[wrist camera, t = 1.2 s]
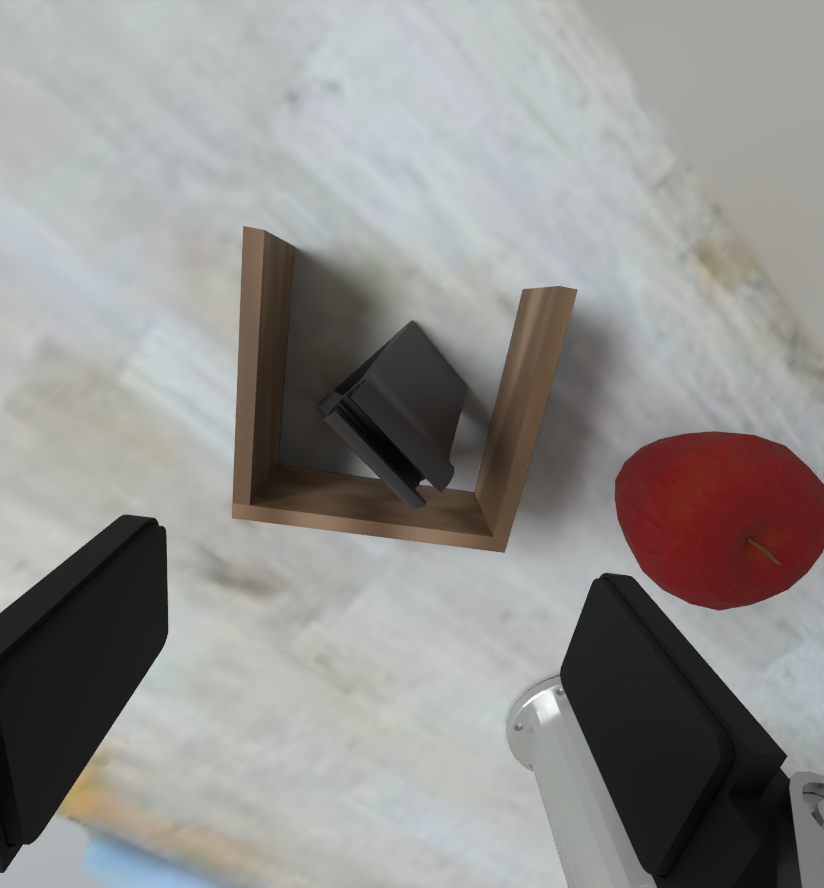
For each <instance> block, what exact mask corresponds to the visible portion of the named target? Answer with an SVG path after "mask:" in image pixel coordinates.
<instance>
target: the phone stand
mask: <svg viewBox="0 0 824 888" xmlns="http://www.w3.org/2000/svg"><path fill="white" fill-rule="evenodd" d="M466 390H467V386H466V385H465V383H464V382H463V381H462V380H461V379H460V377H459V376H458V375H457V374H456V373H455V371H454V370H453V369H452V368H451V367H450V365H449V364H448V363H447V362H446V361H445V359H444V358H443V357H442V356H441V354H440V353H439V352H438V351H437V350H436V348H435V347H434V346H433V345H432V344H431V342H430V341H429V340H428V339H427V338H426V336H425V335H424V334H423V333H422V332H421V330H420V329H419V328H418V327H417V326H416V324H415V323H414V322H413V321H410V322H409V323H408V324H407V325H406V326H405V327H404V328H402V329H401V330H400V331H399V332H398V333H397V334H396V335H395V336H394V337H393V338H391V339H390V340H389V341H388V342H387V343H386V344H385V345H384V346H383V347H381V348H380V349H379V350H378V351H377V352H376V353H375V354H374V355H373V356H371V357H370V358H369V359H368V360H367V361H366V362H365V363H364V364H363V365H362V366H360V367H359V368H358V369H357V370H356V371H355V372H354V373H353V374H351V375H350V376H349V377H348V378H347V379H346V380H345V381H344V382H343V383H341V384H340V385H339V386H338V387H337V388H336V389H335V390H334V391H333V392H332V393H330V394H329V395H328V396H327V397H326V398H325V399H324V400H323V401H322V402H320V403H319V404H318V405H317V406H316V408H317V409H318V410H319V411H320V412H321V413H322V414H323V415H324V418H323V421H324V422H325V423H326V424H327V425H328V426H329V427H330V428H331V429H332V430H333V431H334V432H335V433H336V434H337V435H338V436H339V437H340V438H341V439H342V440H343V441H344V442H345V443H346V444H347V445H348V446H349V447H350V448H351V449H352V450H353V451H354V452H355V453H356V454H357V455H358V456H359V457H360V458H361V459H362V460H363V461H364V462H365V463H366V464H367V465H368V466H369V467H370V468H371V469H372V470H373V471H374V473H375V474H376V475H377V476H378V477H379V478H380V479H381V480H382V481H383V482H384V483H385V484H386V485H387V486H388V487H389V488H390V489H391V490H392V491H393V492H394V493H395V494H396V495H397V496H398V497H399V498H400V499H401V500H402V501H403V502H404V503H405V504H406V505H407V506H408V507H409V508H410V509H418V508H421V507H423V506H425V505H426V500H425V499H424V498H423V497H422V496H421V495H420V494H419V493H418V492H417V491H416V488H417V487H418V486H419V483H420V481H422V480H424V479H425V478H426V479H427V480H428V481H429V482H430V483H431V484H432V485H433V486H434V487H435V488H436V489H437V490H438V491H439V492H440V493H441V492H442V491H443V490H444V489H445V488H446V487H447V485H448V484H449V482H450V481H451V479H452V477H453V474H454V466H453V465H452V464H451V463H450V460H449V454H450V450H451V446H452V443H453V439H454V435H455V431H456V428H457V424H458V420H459V417H460V413H461V409H462V405H463V402H464V398H465V394H466Z"/></svg>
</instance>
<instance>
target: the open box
mask: <svg viewBox="0 0 824 888" xmlns="http://www.w3.org/2000/svg"><path fill="white" fill-rule="evenodd" d="M293 260H294V246H293V245H291V244H289V243H287V242H285V241H283V240H282V239H280V238H278V237H276V236H274V235H273V234H271V233H269V232H267V231H265V230H261V229H256V228H251V227H245V226H243V250H242V275H241V301H240V326H239V352H238V377H237V403H236V428H235V454H234V479H233V504H232V518H235V519H243V520H251V521H259V522H267V523H275V524H283V525H291V526H299V527H306V528H314V529H322V530H330V531H338V532H346V533H354V534H362V535H369V536H377V537H385V538H393V539H401V540H409V541H417V542H425V543H433V544H440V545H448V546H456V547H464V548H472V549H480V550H488V551H496V552H504V553H505V550H506V546H507V543H508V539H509V536H510V532H511V528H512V525H513V521H514V517H515V514H516V510H517V507H518V503H519V499H520V496H521V492H522V489H523V485H524V481H525V478H526V474H527V471H528V467H529V463H530V460H531V456H532V452H533V449H534V445H535V442H536V438H537V434H538V431H539V427H540V424H541V420H542V416H543V413H544V409H545V406H546V402H547V398H548V395H549V391H550V387H551V384H552V380H553V377H554V373H555V369H556V366H557V362H558V359H559V355H560V351H561V348H562V344H563V341H564V337H565V333H566V330H567V326H568V323H569V319H570V315H571V312H572V308H573V304H574V301H575V297H576V294H577V289H572V288H567V287H561V286H555V287H544V288H533V289H523V291H522V295H521V299H520V303H519V308H518V312H517V316H516V320H515V324H514V329H513V333H512V337H511V341H510V345H509V350H508V354H507V358H506V362H505V366H504V371H503V375H502V379H501V383H500V387H499V392H498V396H497V400H496V404H495V408H494V412H493V417H492V421H491V425H490V429H489V433H488V438H487V442H486V446H485V450H484V454H483V459H482V463H481V467H480V471H479V475H478V480H477V484H476V488H475V492H467V491H460V490H453V489H446V488H445V489H444V490H443V491H442V492H441V493H440V492H439V491H438V490H437V489H436V488H435V487H431V486H424V485H419V486H418V487H417V488H416V491H417V492H418V493H419V494H420V495H421V496H422V497H423V498H424V499H425V500H426V505H425V506H423V507H421V508H418V509H410V508H409V507H408V506H407V505H406V504H405V503H404V502H403V501H402V500H401V499H400V498H399V497H398V496H397V495H396V494H395V493H394V492H393V491H392V490H391V489H390V488H389V487H388V486H387V485H386V484H385V483H384V482H383V481H382V480H381V479H374V478H367V477H360V476H352V475H345V474H338V473H331V472H324V471H317V470H309V469H302V468H295V467H288V466H281V465H278V461H279V447H280V434H281V420H282V407H283V394H284V380H285V367H286V354H287V340H288V327H289V314H290V300H291V287H292V273H293Z"/></svg>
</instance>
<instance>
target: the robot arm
mask: <svg viewBox="0 0 824 888" xmlns="http://www.w3.org/2000/svg"><path fill="white" fill-rule="evenodd" d="M167 635H168V591H167V543H166V529H165V527H163V526H159V524H158V521H157V520H156V519H155V518H150V517H142V516H134V515H122V516H121V517H119V518H118V519H116V520H115V521H114V522H113V523H111V524H110V525H109V526H108V527H106V528H105V529H104V530H103V531H102V532H100V533H99V534H98V535H97V536H95V537H94V538H93V539H92V540H90V541H89V542H88V543H87V544H85V545H84V546H83V547H82V548H80V549H79V550H78V551H77V552H75V553H74V554H73V555H72V556H70V557H69V558H68V559H67V560H66V561H64V562H63V563H62V564H61V565H59V566H58V567H57V568H56V569H54V570H53V571H52V572H51V573H49V574H48V575H47V576H46V577H44V578H43V579H42V580H41V581H39V582H38V583H37V584H36V585H34V586H33V587H32V588H31V589H29V590H28V591H27V592H26V593H25V594H23V595H22V596H21V597H20V598H18V599H17V600H16V601H15V602H13V603H12V604H11V605H10V606H8V607H7V608H6V609H5V610H3V611H2V612H1V613H0V873H4V872H5V870H6V869H7V867H8V866H9V865H10V863H11V862H12V860H13V858H14V857H15V856H16V854H17V853H18V851H19V850H20V848H21V847H22V845H23V844H28V845H29V844H31V843H33V842H34V841H35V840H36V839H37V838H38V837H39V835H40V834H41V833H42V831H43V830H44V829H45V827H46V825H47V824H48V823H49V821H50V820H51V818H52V817H53V815H54V814H55V812H56V811H57V809H58V807H59V806H60V804H61V803H62V801H63V800H64V798H65V797H66V795H67V794H68V792H69V791H70V789H71V788H72V786H73V785H74V783H75V782H76V780H77V778H78V777H79V775H80V774H81V772H82V771H83V769H84V768H85V766H86V765H87V763H88V762H89V760H90V759H91V757H92V756H93V754H94V752H95V751H96V749H97V748H98V746H99V745H100V743H101V742H102V740H103V739H104V737H105V736H106V734H107V733H108V731H109V730H110V728H111V726H112V725H113V723H114V722H115V720H116V719H117V717H118V716H119V714H120V713H121V711H122V710H123V708H124V707H125V705H126V704H127V702H128V701H129V699H130V697H131V696H132V694H133V693H134V691H135V690H136V688H137V687H138V685H139V684H140V682H141V681H142V679H143V678H144V676H145V675H146V673H147V671H148V670H149V668H150V667H151V665H152V664H153V662H154V661H155V659H156V658H157V656H158V655H159V653H160V652H161V650H162V648H163V646H164V644H165V642H166V639H167ZM506 733H507V739H508V743H509V746H510V750H511V752H512V753H513V755H514V757H515V758H516V759H517V760H518V761H519V763H520V764H521V765H523V766H524V767H526V768H527V769H529V770H531V771H533V772H534V774H535V777H536V781H537V784H538V788H539V791H540V794H541V798H542V801H543V804H544V808H545V811H546V814H547V818H548V821H549V825H550V828H551V831H552V835H553V838H554V841H555V845H556V848H557V851H558V855H559V858H560V862H561V865H562V868H563V872H564V875H565V878H566V882H567V885H568V888H824V776H822V775H818V774H815V773H811V772H797V773H796V774H794V775H793V776H792V777H791V778H790V779H789V778H788V777H787V776H786V775H785V773H784V772H783V771H782V770H781V769H780V767H781V765H782V764H783V762H784V761H785V759H786V757H787V755H786V754H785V753H784V752H783V751H782V749H781V748H780V747H779V746H778V745H777V744H776V742H775V741H774V740H773V739H772V738H771V737H770V735H769V734H768V733H767V732H766V731H765V730H764V728H763V727H762V726H761V725H760V724H759V723H758V721H757V720H756V719H755V718H754V717H753V716H752V715H751V713H750V712H749V711H748V710H747V709H746V708H745V706H744V705H743V704H742V703H741V702H740V701H739V699H738V698H737V697H736V696H735V695H734V694H733V692H732V691H731V690H730V689H729V688H728V687H727V686H726V684H725V683H724V682H723V681H722V680H721V679H720V677H719V676H718V675H717V674H716V673H715V672H714V670H713V669H712V668H711V667H710V666H709V665H708V663H707V662H706V661H705V660H704V659H703V658H702V657H701V655H700V654H699V653H698V652H697V651H696V650H695V648H694V647H693V646H692V645H691V644H690V643H689V641H688V640H687V639H686V638H685V637H684V636H683V634H682V633H681V632H680V631H679V630H678V629H677V628H676V626H675V625H674V624H673V623H672V622H671V621H670V619H669V618H668V617H667V616H666V615H665V614H664V612H663V611H662V610H661V609H660V608H659V607H658V605H657V604H656V603H655V602H654V601H653V600H652V598H651V597H650V596H649V595H648V594H647V593H646V592H645V590H644V589H643V588H642V587H641V586H640V585H639V583H638V582H637V581H636V580H635V579H634V578H633V577H631V576H627V575H619V574H611V573H604V574H602V575H601V576H600V578H599V579H595V580H594V581H593V583H592V585H591V587H590V590H589V593H588V596H587V598H586V601H585V604H584V606H583V609H582V612H581V615H580V617H579V620H578V623H577V626H576V628H575V631H574V634H573V636H572V639H571V642H570V645H569V647H568V650H567V653H566V656H565V658H564V661H563V664H562V666H561V671H560V676H557V677H555V678H552V679H549V680H546V681H544V682H542V683H540V684H538V685H536V686H535V687H533V688H532V689H531V690H529V691H528V692H526V693H525V694H524V695H523V696H522V697H521V698H520V699H519V700H518V701H517V702H516V704H515V705H514V707H513V709H512V710H511V712H510V714H509V717H508V720H507V726H506Z"/></svg>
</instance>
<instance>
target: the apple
mask: <svg viewBox="0 0 824 888" xmlns="http://www.w3.org/2000/svg"><path fill="white" fill-rule="evenodd" d="M615 502H616V509H617V516H618V521H619V524H620V526H621V529H622V531H623V534H624V536H625V539H626V541H627V543H628V545H629V547H630V549H631V551H632V552H633V554H634V556H635V558H636V560H637V562H638V563H639V565H640V567H641V569H642V571H643V572H644V573H645V574H646V575H647V576H648V577H650V578H651V579H652V580H653V581H654V582H655V583H656V584H657V585H658V586H659V587H660V588H661V589H663V590H664V591H666V592H668V593H670V594H672V595H674V596H676V597H678V598H680V599H682V600H684V601H686V602H688V603H690V604H693V605H698V606H702V607H706V608H711V609H715V610H724V609H730V608H736V607H741V606H747V605H751V604H754V603H757V602H760V601H763V600H765V599H768V598H770V597H772V596H774V595H777V594H779V593H781V592H784V591H786V590H788V589H789V588H790V587H791V586H793V585H794V584H795V583H796V582H797V581H798V580H799V579H801V578H802V577H803V576H804V575H805V574H806V573H807V572H808V571H809V570H810V568H811V567H812V566H813V564H814V563H815V562H816V560H817V559H818V558H819V557H820V555H821V554H822V553H823V550H824V484H823V483H822V482H821V481H820V480H819V478H818V477H817V476H816V475H815V474H814V473H813V471H812V470H811V469H810V468H809V467H808V466H807V465H806V464H805V463H804V462H803V461H801V460H800V459H799V458H798V457H797V456H796V455H795V454H794V453H793V452H792V451H790V450H789V449H788V448H787V447H786V446H784V445H781V444H778V443H776V442H773V441H770V440H767V439H764V438H761V437H758V436H755V435H748V434H737V433H726V432H715V431H714V432H702V433H690V434H682V435H678V436H673V437H668V438H664V439H660V440H657V441H655V442H653V443H651V444H649V445H647V446H644V447H642V448H640V449H639V450H638V451H637V452H636V453H635V454H634V455H633V456H631V457H630V458H629V459H628V460H627V461H626V462H625V463H624V465H623V467H622V469H621V471H620V473H619V475H618V476H617V478H616V480H615Z"/></svg>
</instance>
